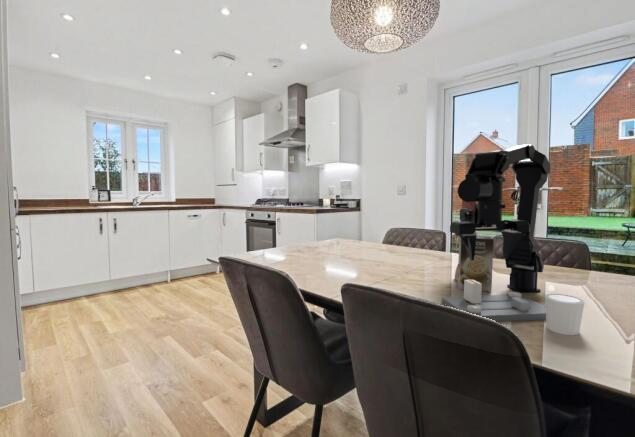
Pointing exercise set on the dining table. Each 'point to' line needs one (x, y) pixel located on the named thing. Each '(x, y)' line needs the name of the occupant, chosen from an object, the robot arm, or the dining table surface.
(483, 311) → the console
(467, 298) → the fader
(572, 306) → the white cup
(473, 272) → the coffee box
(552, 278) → the dining table surface
